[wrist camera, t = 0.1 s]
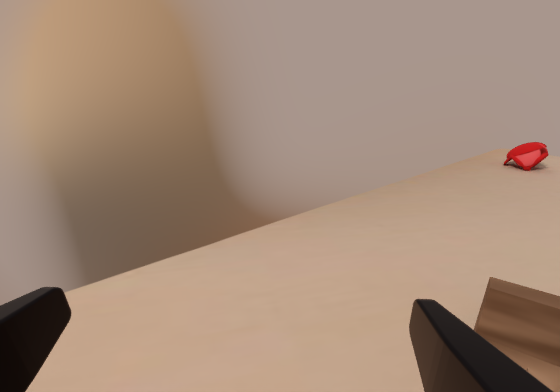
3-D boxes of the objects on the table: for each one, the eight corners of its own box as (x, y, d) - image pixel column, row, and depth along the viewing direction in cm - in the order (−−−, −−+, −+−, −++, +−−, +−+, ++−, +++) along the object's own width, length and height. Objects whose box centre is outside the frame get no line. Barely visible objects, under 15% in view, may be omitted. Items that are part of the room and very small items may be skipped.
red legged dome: (554, 153, 66) (530, 136, 69) (555, 150, 61) (530, 132, 64) (520, 178, 70) (499, 161, 72) (519, 177, 65) (497, 158, 68)
